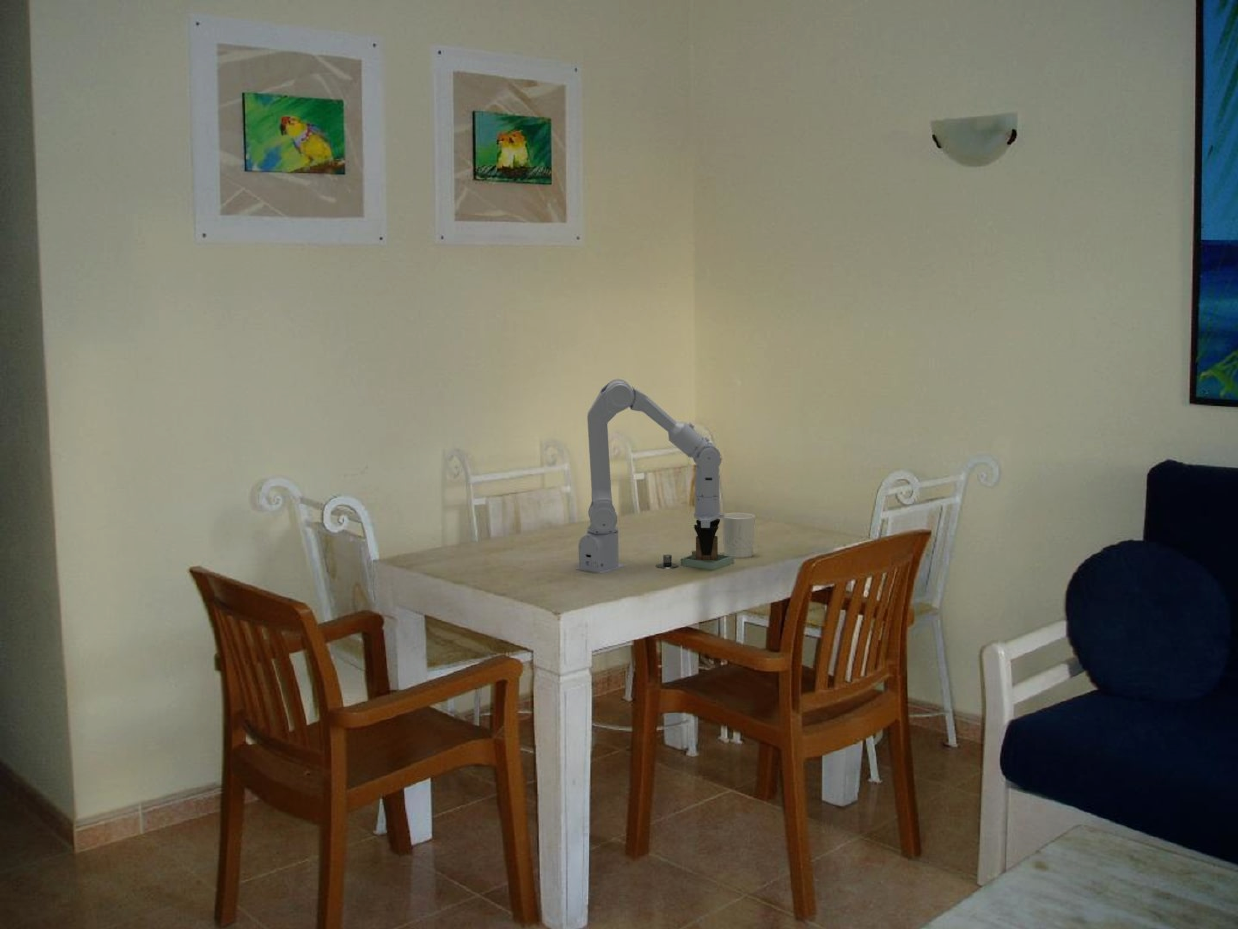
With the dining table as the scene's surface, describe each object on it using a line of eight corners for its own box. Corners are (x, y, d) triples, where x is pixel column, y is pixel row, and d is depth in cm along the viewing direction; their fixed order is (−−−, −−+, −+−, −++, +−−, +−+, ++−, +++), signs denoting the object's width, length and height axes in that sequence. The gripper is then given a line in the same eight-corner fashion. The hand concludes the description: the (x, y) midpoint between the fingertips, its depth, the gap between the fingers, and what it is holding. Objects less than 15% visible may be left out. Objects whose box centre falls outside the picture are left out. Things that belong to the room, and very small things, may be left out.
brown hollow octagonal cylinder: (718, 555, 303) (717, 535, 303) (717, 560, 298) (716, 539, 298) (692, 555, 304) (692, 534, 303) (691, 560, 299) (691, 539, 298)
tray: (712, 571, 295) (712, 563, 295) (680, 566, 301) (680, 558, 300) (733, 564, 302) (733, 556, 302) (701, 559, 308) (701, 551, 307)
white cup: (760, 554, 313) (760, 514, 311) (746, 561, 306) (746, 519, 305) (730, 551, 317) (730, 511, 315) (716, 557, 310) (716, 517, 309)
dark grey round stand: (670, 571, 296) (670, 559, 296) (650, 568, 299) (650, 556, 299) (684, 567, 300) (684, 554, 300) (664, 564, 304) (664, 552, 303)
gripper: (722, 500, 291) (722, 559, 293) (725, 490, 306) (725, 546, 308) (691, 500, 292) (692, 558, 294) (696, 489, 307) (696, 545, 309)
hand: (707, 552), depth 301 cm, fingers closed on brown hollow octagonal cylinder, 5 cm apart
